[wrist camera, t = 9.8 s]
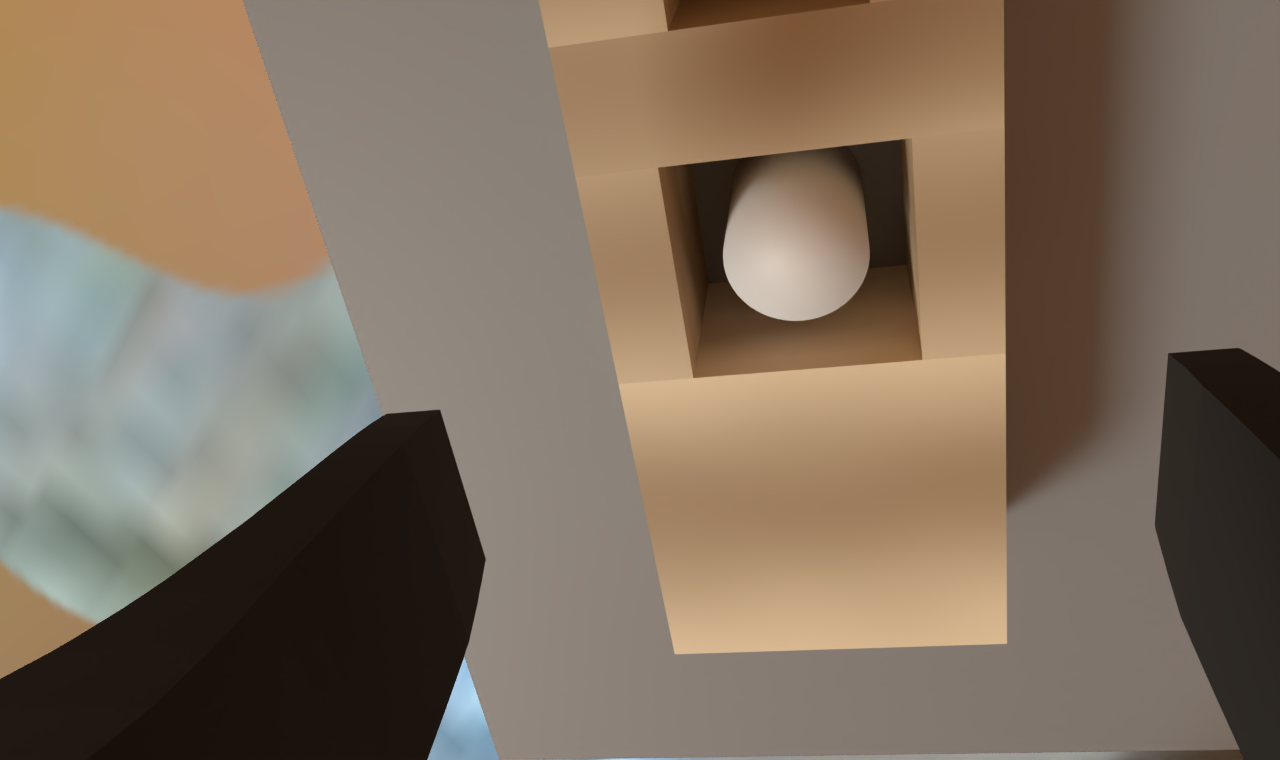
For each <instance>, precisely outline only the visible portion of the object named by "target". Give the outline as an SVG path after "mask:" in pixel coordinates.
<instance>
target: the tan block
mask: <svg viewBox="0 0 1280 760" xmlns="http://www.w3.org/2000/svg"><path fill="white" fill-rule="evenodd" d="M539 5H540V10H541V15H542V20H543V24H544V29H545V34H546V39H547V44H548V48H549V53H550V58H551V63H552V68H553V72H554V77H555V82H556V87H557V92H558V96H559V101H560V106H561V111H562V116H563V120H564V125H565V130H566V135H567V140H568V144H569V149H570V154H571V159H572V164H573V168H574V173H575V178H576V183H577V188H578V192H579V197H580V202H581V207H582V212H583V216H584V221H585V226H586V231H587V236H588V240H589V245H590V250H591V255H592V260H593V264H594V269H595V274H596V279H597V284H598V288H599V293H600V298H601V303H602V308H603V312H604V317H605V322H606V327H607V332H608V336H609V341H610V346H611V351H612V356H613V360H614V365H615V370H616V375H617V380H618V384H619V389H620V394H621V399H622V404H623V408H624V413H625V418H626V423H627V428H628V432H629V437H630V442H631V447H632V452H633V456H634V461H635V466H636V471H637V476H638V480H639V485H640V490H641V495H642V500H643V504H644V509H645V514H646V519H647V524H648V528H649V533H650V538H651V543H652V548H653V552H654V557H655V562H656V567H657V572H658V576H659V581H660V586H661V591H662V596H663V600H664V605H665V610H666V615H667V620H668V624H669V629H670V634H671V639H672V644H673V648H674V653H675V654H701V653H732V652H764V651H796V650H828V649H859V648H891V647H923V646H954V645H986V644H1007V532H1006V329H1005V126H1004V0H539ZM891 140H900V153H901V172H902V191H903V209H904V228H905V247H906V265H897V266H887V267H876V268H868V270H867V273H866V276H865V278H864V281H863V283H862V284H861V286H860V288H859V289H858V291H857V292H856V293H855V294H854V296H853V297H852V298H851V299H850V300H849V301H848V302H846V303H845V304H844V305H843V306H841V307H840V308H838V309H837V310H835V311H833V312H831V313H829V314H827V315H824V316H822V317H818V318H815V319H810V320H803V321H789V320H781V319H776V318H773V317H769V316H766V315H764V314H762V313H760V312H758V311H756V310H755V309H753V308H751V307H750V306H749V305H747V304H746V303H745V302H744V301H743V300H742V299H741V298H740V297H739V296H738V295H737V294H736V292H735V291H734V290H733V288H732V286H731V284H730V283H729V282H719V283H709V282H708V276H707V269H706V263H705V256H704V250H703V243H702V237H701V230H700V224H699V217H698V211H697V204H696V197H695V191H694V184H693V178H692V171H691V165H690V164H693V163H702V162H710V161H719V160H728V159H736V158H745V157H753V156H762V155H771V154H779V153H788V152H796V151H805V150H814V149H822V148H831V147H839V146H848V145H857V144H865V143H874V142H882V141H891Z"/></svg>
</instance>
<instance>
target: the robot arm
mask: <svg viewBox="0 0 1280 760" xmlns="http://www.w3.org/2000/svg"><path fill="white" fill-rule="evenodd" d="M1155 529H1156V533H1157V537H1158V540H1159V544H1160V547H1161V551H1162V555H1163V558H1164V562H1165V566H1166V569H1167V573H1168V576H1169V580H1170V583H1171V586H1172V590H1173V593H1174V596H1175V600H1176V603H1177V606H1178V610H1179V613H1180V616H1181V619H1182V621H1183V623H1184V626H1185V628H1186V630H1187V633H1188V635H1189V637H1190V640H1191V642H1192V644H1193V647H1194V649H1195V651H1196V653H1197V656H1198V658H1199V660H1200V662H1201V665H1202V667H1203V669H1204V671H1205V674H1206V676H1207V678H1208V680H1209V683H1210V685H1211V687H1212V689H1213V692H1214V694H1215V696H1216V698H1217V701H1218V703H1219V705H1220V707H1221V709H1222V712H1223V714H1224V716H1225V718H1226V721H1227V723H1228V725H1229V727H1230V729H1231V732H1232V734H1233V736H1234V738H1235V740H1236V743H1237V745H1238V747H1239V749H1240V752H1241V754H1242V756H1243V758H1244V760H1280V372H1279V371H1277V370H1276V369H1274V368H1273V367H1271V366H1269V365H1268V364H1266V363H1265V362H1263V361H1261V360H1260V359H1258V358H1256V357H1255V356H1253V355H1251V354H1249V353H1248V352H1246V351H1244V350H1242V349H1240V348H1229V349H1216V350H1203V351H1190V352H1177V353H1168V361H1167V374H1166V386H1165V399H1164V412H1163V425H1162V438H1161V450H1160V463H1159V476H1158V489H1157V501H1156V514H1155ZM485 561H486V558H485V555H484V551H483V548H482V545H481V542H480V538H479V535H478V532H477V529H476V525H475V522H474V519H473V515H472V512H471V509H470V506H469V502H468V499H467V496H466V493H465V489H464V486H463V483H462V480H461V476H460V473H459V470H458V466H457V463H456V460H455V457H454V453H453V450H452V447H451V444H450V440H449V437H448V434H447V431H446V427H445V424H444V421H443V418H442V414H441V411H440V410H428V411H415V412H402V413H389V414H385V415H384V416H382V417H381V418H379V419H377V420H376V421H374V422H373V423H371V424H370V425H368V426H367V427H366V428H364V429H363V430H361V431H360V432H359V433H357V434H356V435H355V436H353V437H352V438H351V439H349V440H348V441H347V442H346V443H344V444H343V445H342V446H340V447H339V448H338V449H337V450H335V451H334V452H333V453H331V454H330V455H329V456H328V457H326V458H325V459H324V460H323V461H321V462H320V463H319V464H318V465H316V466H315V467H314V468H313V469H311V470H310V471H309V472H308V473H306V474H305V475H304V476H303V477H301V478H300V479H299V480H297V481H296V482H295V483H294V484H292V485H291V486H290V487H289V488H287V489H286V490H285V491H284V492H282V493H281V494H280V495H278V496H277V497H276V498H275V499H273V500H272V501H271V502H270V503H268V504H267V505H266V506H265V507H263V508H262V509H261V510H259V511H258V512H257V513H256V514H254V515H253V516H252V517H251V518H249V519H248V520H247V521H245V522H244V523H243V524H241V525H240V526H239V527H237V528H236V529H235V530H233V531H232V532H231V533H229V534H228V535H226V536H225V537H224V538H222V539H221V540H220V541H218V542H217V543H215V544H214V545H213V546H211V547H210V548H209V549H207V550H206V551H205V552H203V553H202V554H200V555H199V556H198V557H196V558H195V559H194V560H192V561H191V562H190V563H188V564H187V565H185V566H184V567H183V568H181V569H180V570H179V571H177V572H176V573H174V574H173V575H172V576H170V577H169V578H168V579H166V580H165V581H163V582H162V583H160V584H159V585H157V586H156V587H154V588H153V589H152V590H150V591H149V592H147V593H146V594H144V595H143V596H141V597H140V598H138V599H136V600H135V601H133V602H132V603H130V604H129V605H127V606H126V607H124V608H123V609H121V610H120V611H118V612H116V613H115V614H113V615H111V616H110V617H108V618H107V619H105V620H103V621H102V622H100V623H98V624H97V625H95V626H94V627H92V628H90V629H89V630H87V631H85V632H84V633H82V634H81V635H79V636H77V637H76V638H74V639H73V640H71V641H69V642H67V643H66V644H64V645H62V646H60V647H59V648H57V649H55V650H53V651H52V652H50V653H48V654H46V655H44V656H42V657H41V658H39V659H37V660H35V661H33V662H32V663H30V664H27V665H26V666H24V667H22V668H20V669H18V670H16V671H14V672H13V673H11V674H9V675H7V676H5V677H3V678H1V679H0V760H427V759H428V756H429V753H430V750H431V748H432V745H433V742H434V740H435V737H436V734H437V731H438V729H439V726H440V723H441V720H442V718H443V715H444V712H445V709H446V707H447V704H448V701H449V698H450V695H451V693H452V690H453V687H454V684H455V681H456V678H457V676H458V673H459V670H460V667H461V664H462V661H463V658H464V655H465V652H466V650H467V647H468V644H469V640H470V636H471V631H472V627H473V622H474V618H475V613H476V609H477V604H478V599H479V593H480V588H481V583H482V577H483V572H484V567H485Z"/></svg>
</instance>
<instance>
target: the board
mask: <svg viewBox="0 0 1280 760" xmlns="http://www.w3.org/2000/svg"><path fill="white" fill-rule="evenodd" d="M243 3H244V6H245V9H246V12H247V15H248V17H249V21H250V24H251V27H252V30H253V33H254V35H255V38H256V41H257V44H258V47H259V50H260V53H261V56H262V59H263V62H264V65H265V68H266V71H267V73H268V77H269V80H270V83H271V86H272V89H273V91H274V95H275V97H276V101H277V103H278V106H279V109H280V112H281V115H282V118H283V121H284V124H285V127H286V130H287V133H288V136H289V139H290V141H291V145H292V148H293V151H294V154H295V157H296V160H297V163H298V166H299V168H300V172H301V174H302V177H303V180H304V183H305V186H306V189H307V192H308V195H309V198H310V201H311V204H312V207H313V210H314V213H315V216H316V218H317V222H318V225H319V228H320V231H321V234H322V236H323V239H324V243H325V245H326V248H327V251H328V254H329V257H330V260H331V263H332V266H333V269H334V272H335V275H336V278H337V281H338V284H339V287H340V290H341V293H342V296H343V299H344V302H345V305H346V308H347V311H348V314H349V316H350V319H351V322H352V325H353V328H354V331H355V334H356V337H357V340H358V343H359V346H360V349H361V352H362V355H363V358H364V361H365V364H366V367H367V370H368V373H369V376H370V379H371V382H372V384H373V387H374V390H375V393H376V396H377V399H378V402H379V405H380V408H381V411H382V414H383V416H384V415H385V414H389V413H402V412H415V411H428V410H440V411H441V414H442V418H443V421H444V424H445V427H446V431H447V434H448V437H449V440H450V444H451V447H452V450H453V453H454V457H455V460H456V463H457V466H458V470H459V473H460V476H461V480H462V483H463V486H464V489H465V493H466V496H467V499H468V502H469V506H470V509H471V512H472V515H473V519H474V522H475V525H476V529H477V532H478V535H479V538H480V542H481V545H482V548H483V551H484V555H485V558H486V561H485V567H484V572H483V577H482V583H481V588H480V593H479V599H478V604H477V609H476V613H475V618H474V622H473V627H472V631H471V636H470V640H469V644H468V647H467V650H466V652H465V655H464V657H465V660H466V663H467V665H468V668H469V671H470V674H471V677H472V680H473V683H474V686H475V689H476V692H477V695H478V698H479V701H480V704H481V707H482V710H483V713H484V716H485V719H486V722H487V725H488V728H489V731H490V733H491V736H492V739H493V742H494V745H495V748H496V751H497V754H498V757H499V760H539V759H610V758H682V757H754V756H825V755H897V754H969V753H1041V752H1112V751H1184V750H1240V749H1239V747H1238V745H1237V743H1236V740H1235V738H1234V736H1233V734H1232V732H1231V729H1230V727H1229V725H1228V723H1227V721H1226V718H1225V716H1224V714H1223V712H1222V709H1221V707H1220V705H1219V703H1218V701H1217V698H1216V696H1215V694H1214V692H1213V689H1212V687H1211V685H1210V683H1209V680H1208V678H1207V676H1206V674H1205V671H1204V669H1203V667H1202V665H1201V662H1200V660H1199V658H1198V656H1197V653H1196V651H1195V649H1194V647H1193V644H1192V642H1191V640H1190V637H1189V635H1188V633H1187V630H1186V628H1185V626H1184V623H1183V621H1182V619H1181V616H1180V613H1179V610H1178V606H1177V603H1176V600H1175V596H1174V593H1173V590H1172V586H1171V583H1170V580H1169V576H1168V573H1167V569H1166V566H1165V562H1164V558H1163V555H1162V551H1161V547H1160V544H1159V540H1158V537H1157V533H1156V529H1155V514H1156V501H1157V489H1158V476H1159V463H1160V450H1161V438H1162V425H1163V412H1164V399H1165V386H1166V374H1167V361H1168V353H1177V352H1190V351H1203V350H1216V349H1229V348H1240V349H1242V350H1244V351H1246V352H1248V353H1249V354H1251V355H1253V356H1255V357H1256V358H1258V359H1260V360H1261V361H1263V362H1265V363H1266V364H1268V365H1269V366H1271V367H1273V368H1274V369H1276V370H1277V371H1279V372H1280V0H1004V126H1005V329H1006V532H1007V644H986V645H954V646H923V647H891V648H859V649H828V650H796V651H764V652H732V653H701V654H675V653H674V648H673V644H672V639H671V634H670V629H669V624H668V620H667V615H666V610H665V605H664V600H663V596H662V591H661V586H660V581H659V576H658V572H657V567H656V562H655V557H654V552H653V548H652V543H651V538H650V533H649V528H648V524H647V519H646V514H645V509H644V504H643V500H642V495H641V490H640V485H639V480H638V476H637V471H636V466H635V461H634V456H633V452H632V447H631V442H630V437H629V432H628V428H627V423H626V418H625V413H624V408H623V404H622V399H621V394H620V389H619V384H618V380H617V375H616V370H615V365H614V360H613V356H612V351H611V346H610V341H609V336H608V332H607V327H606V322H605V317H604V312H603V308H602V303H601V298H600V293H599V288H598V284H597V279H596V274H595V269H594V264H593V260H592V255H591V250H590V245H589V240H588V236H587V231H586V226H585V221H584V216H583V212H582V207H581V202H580V197H579V192H578V188H577V183H576V178H575V173H574V168H573V164H572V159H571V154H570V149H569V144H568V140H567V135H566V130H565V125H564V120H563V116H562V111H561V106H560V101H559V96H558V92H557V87H556V82H555V77H554V72H553V68H552V63H551V58H550V53H549V48H548V44H547V39H546V34H545V29H544V24H543V20H542V15H541V10H540V5H539V0H243ZM690 165H691V171H692V178H693V184H694V191H695V197H696V204H697V211H698V217H699V224H700V230H701V237H702V243H703V250H704V256H705V263H706V269H707V276H708V282H709V283H719V282H729V283H730V284H731V286H732V288H733V290H734V291H735V292H736V294H737V295H738V296H739V297H740V298H741V299H742V300H743V301H744V302H745V303H746V304H747V305H749V306H750V307H751V308H753V309H755V310H756V311H758V312H760V313H762V314H764V315H766V316H769V317H773V318H776V319H781V320H789V321H803V320H810V319H815V318H818V317H822V316H824V315H827V314H829V313H831V312H833V311H835V310H837V309H838V308H840V307H841V306H843V305H844V304H845V303H846V302H848V301H849V300H850V299H851V298H852V297H853V296H854V294H855V293H856V292H857V291H858V289H859V288H860V286H861V284H862V283H863V281H864V278H865V276H866V273H867V270H868V268H876V267H887V266H897V265H906V247H905V228H904V209H903V191H902V172H901V153H900V140H891V141H882V142H874V143H865V144H857V145H848V146H839V147H831V148H822V149H814V150H805V151H796V152H788V153H779V154H771V155H762V156H753V157H745V158H736V159H728V160H719V161H710V162H702V163H693V164H690Z"/></svg>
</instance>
